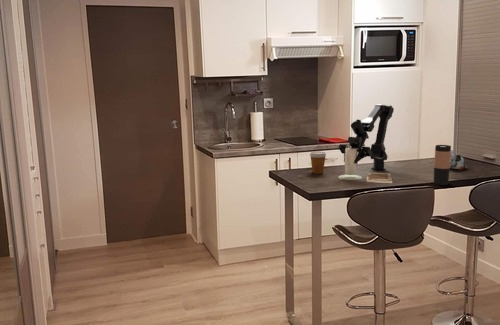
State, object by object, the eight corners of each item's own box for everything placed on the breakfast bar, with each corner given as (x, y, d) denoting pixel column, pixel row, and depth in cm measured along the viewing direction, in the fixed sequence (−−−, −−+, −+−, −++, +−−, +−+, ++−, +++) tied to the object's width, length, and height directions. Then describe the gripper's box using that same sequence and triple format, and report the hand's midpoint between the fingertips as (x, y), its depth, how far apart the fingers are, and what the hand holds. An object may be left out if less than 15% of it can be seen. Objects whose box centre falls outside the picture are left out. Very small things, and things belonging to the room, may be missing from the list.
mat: (334, 177, 266) (334, 175, 265) (354, 175, 270) (354, 173, 270) (346, 182, 254) (346, 180, 253) (366, 180, 258) (367, 178, 258)
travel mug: (430, 182, 252) (432, 145, 248) (444, 181, 252) (446, 144, 249) (437, 185, 244) (439, 147, 240) (451, 184, 245) (454, 146, 241)
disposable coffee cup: (315, 175, 273) (316, 154, 271) (306, 172, 281) (306, 152, 279) (329, 173, 277) (329, 153, 275) (319, 170, 286) (319, 150, 283)
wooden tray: (366, 178, 262) (367, 172, 261) (391, 179, 259) (391, 173, 258) (366, 183, 250) (366, 177, 249) (392, 185, 246) (392, 178, 246)
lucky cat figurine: (468, 170, 279) (460, 151, 275) (447, 177, 284) (440, 158, 279) (463, 159, 292) (456, 140, 288) (443, 165, 297) (436, 147, 292)
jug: (348, 172, 266) (348, 147, 263) (358, 173, 262) (358, 148, 259) (340, 174, 260) (341, 149, 257) (350, 176, 256) (350, 150, 253)
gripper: (340, 129, 266) (329, 152, 260) (370, 132, 254) (359, 155, 248) (347, 142, 273) (336, 163, 267) (377, 144, 261) (366, 167, 255)
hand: (349, 162), depth 259 cm, fingers closed on jug, 6 cm apart
